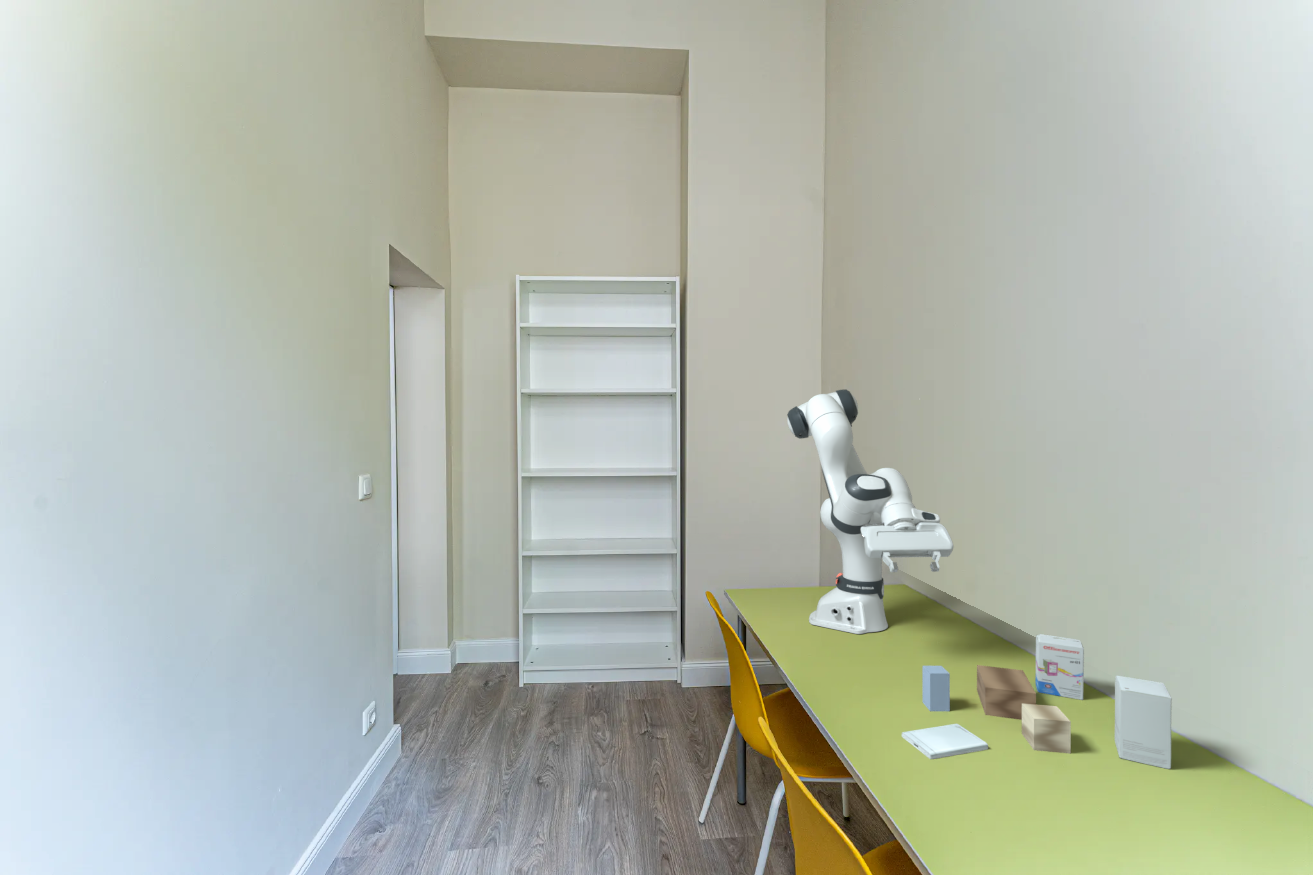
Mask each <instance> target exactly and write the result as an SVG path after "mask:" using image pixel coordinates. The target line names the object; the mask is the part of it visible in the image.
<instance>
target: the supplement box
mask: <svg viewBox="0 0 1313 875" xmlns="http://www.w3.org/2000/svg"><path fill="white" fill-rule="evenodd" d="M1114 679H1115V680H1114V743H1115V746H1116V750H1117V753H1118V756H1119V758H1120V759H1123V760H1128V761H1131V762H1137V763H1140V764H1145V765H1148V766H1153V767H1158V768H1163V769H1166V770H1171V769H1172V707H1173V706H1172V703H1173V702H1172V700H1173V698H1172V696H1171V694H1170V692H1169V691H1168V688H1167V687H1166V685H1165V683H1164V682H1161V681H1153V680H1147V679H1141V678H1135V677H1129V676H1122V675H1115V678H1114Z"/></svg>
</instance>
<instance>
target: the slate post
mask: <svg viewBox="0 0 1313 875" xmlns="http://www.w3.org/2000/svg"><path fill="white" fill-rule="evenodd" d="M950 674H951V673H950V672H949V671H948V670H947V669H946V668H944V667H943V666H942V665H922V703H923V704H924V706H925V707H926V708H927V710H928V711H930V712H950V710H951V706H950V705H951V704H950V702H951V701H950V700H951V699H950V698H951V696H950V691H951V690H950V686H951V684H950V683H951V681H950V679H951V678H950Z"/></svg>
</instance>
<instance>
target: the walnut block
mask: <svg viewBox="0 0 1313 875" xmlns="http://www.w3.org/2000/svg"><path fill="white" fill-rule="evenodd" d="M1028 678H1029V677H1027V675H1026V674H1025V671H1024V670H1023V669H1015V668H1007V667H997V666H988V665H980V664H976V692H977V694H978V697H979V701H980V703H981V706H982V708H983V712H984V715H985V716H990V717H996V718H997V717H998V718H1003V719H1004V718H1006V719H1012V720H1020V721H1022V704H1035V705H1037V693H1036V691H1035V690H1034V687H1033V686H1032V684H1031V682H1030V680H1029V679H1028Z"/></svg>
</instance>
